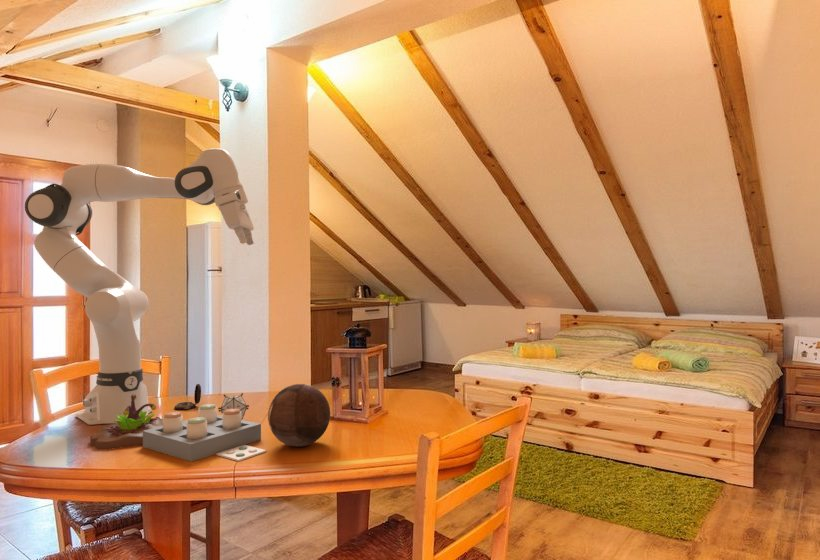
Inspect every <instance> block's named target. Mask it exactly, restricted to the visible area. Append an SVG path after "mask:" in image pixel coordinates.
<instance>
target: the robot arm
mask: <svg viewBox="0 0 820 560" xmlns="http://www.w3.org/2000/svg"><path fill="white" fill-rule="evenodd" d="M61 181H62V182H61V184H58V183H51V184H48V185H46V186H45V187H43V188H40V189H37V190H35V191H33V192H32V193H30V194H29V195H28V196H27V198H26V200H25V202H24V211H25V213H26V215H27V217H28V218H29V219H30V220H31V221H32V222H34V223H36V224H38V225H40V226H42V227H43V228H42V231H40V232H39V233H38V234H37V236H35V239H34V242H33V246H34V248H35V250H36V251H37V253H38V254H39V256H40V257H41V258H42V260H43V261H44V263H46V264H47V266H48V267H49V268H50V269H51V270H52V271H53V272H54V273H55V274H57V276H58V277H59V278H61V279H62V281H63V282H64V283H66V284H67V285H68V286H69V287H70V288H71V289H72V290H73V291H74V292H76V293H79V294H81V295H82V296H84V297H86V298H87V299H86V302H85V305H84V309H85V310H84V311H85V315H86V316H87V318H88V319H89V320H90V322H91V323H92V326H93V330H94V332H95V336H96V340H97V347H98V365H99V369H98V370H99V371H98V372H96V382H95V383H96V385H95V386H94V387H93V388H92V390H91V391H90V392H89V393H88V394H86V396H85V398H84V399H83V400H82V407H83V408H84V410H81V411H78V412H76V414H75V417H76V418H78V419H79V420H81V421H82V422H84V423H85V424H87V425H88V426H91V425H101V424H103V425H104V424H106V425H108V424H114V423H117V422H116V421H114V420H117V421H120V420H119V419H118V418H117V414H118V415H123V416H125V415H124V414H123V412H124V410H125V409H126V408H127V407H128V406H131V401H132V400H131V395H132V394H135V395H136V396H137V398H136V399H135V401H134V402H135V408H136V411H137V410H138V409H139V408H140V407H142V406H143V405H145V404H149V398H148V396H149V395H148V389H147V385H146V384H144V383H143V381H144V372H143V371H144V370H143V368H142V350H141V349H142V348H141V347H142V346H141V344H142V343H141V341H140V340H139V338H138V337H137V334H136V329H135V325H134V322H135V321H137V320H140V319H142V317H143V316H145V314H146V313H147V312H148V310H149V307H150V300H149V297H148V296H147V294H146V293H145V292H144V291H143V290H141V289H139V288H137V287H136V286H135V285H134V284H132V283H131V282H129V281H128V280H127V279H125V278H124V277H123V276H121V275H120V274H118V273H117V272H116V271H115V270H112V269H111V268H110V267H108V266H107V265H106V264H105V263H104V262H103V261H102V260H101V259H100V258H98V256H97V255H96V254H95V253H94V252H93V251H91V250H90V249H89V247H87V246H86V245H85V244H84V243H83V242H82V241H81V240H80V239H79V238H78V236H79V235H81V234H82V233H83V231H84V229H85V228H86V226H88V224H89V223H90V222H91V219H92V217H93V209H92V206H91V204H89V203H93V202H104V203H107V202H111V203H113V202H126V201H135V200H142V199H154V198H156V199H157V198H158V199H159V198H160V199H183V200H190V201H192V202H194V203H195V204H199V205H201V206H209V205H212V204H215V206H216V207H217V208H218V210H219V211H220V214H221V216H222V218H223V220H224V221H225V224H226V225H227V228H228V229H230V230H233V231H234V232H235V233H234V234H236V236H237V238H238V240H239V244H242V245H244V244H246V245H248V246H252V245H254V240H253V234H252V231H253V230H254V224H253V222H252V220H251V217H250V215H249V212H248V210H247V208H246V204H248V203H249V200H248V197H247V195H246V191H245V189H244V187H243V184H242V183H241V182H240V179H239V172H238V169H237V167H236V165H235V162H234V159H233V158H232V156H231V154H230V153H229V151H227V150H225V149H223V148H217V147H213V148H207V149H205V150H203V151H201V152H200V155H199V156H198V158H197V159H195V160H194V161H193V162H192V163H191V164H189V165H188V166H187V167H185V168H182V169H181V170H180V171H178V172H177V173H176V176H175V177H159V176H154V175H150V174H146V173H143V172H141V171H138V170H136V169H133V168H130V167H127V166H124V165H118V164H112V163H90V164H89V163H88V164H82V165H81V164H80V165H75V166H70V167H69V168H67V169H66V170H64V173H63V175H62V179H61ZM141 411H143V412H147V414H146V415H148V416H149V414H150V413H152V412H153V410H152V409H151V407H150V406H146V407H144V408H143V409H142V410H141ZM126 416H127V415H126Z"/></svg>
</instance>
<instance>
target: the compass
mask: <svg viewBox="0 0 820 560" xmlns="http://www.w3.org/2000/svg"><path fill="white" fill-rule="evenodd" d="M201 386H202V385H201V384H200V383H196V384H195V388H194V396H193V397H194V402H192V401H182V402H179V403H177V404H176V405H175V406H174V407H173V409H175V410H176V409H177V410H176V411H187V410H192V409H194V408H195V407H196V405H198V404H199V403H200V401H201V397H202V387H201ZM186 409H187V410H186Z"/></svg>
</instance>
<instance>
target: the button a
mask: <svg viewBox="0 0 820 560" xmlns="http://www.w3.org/2000/svg"><path fill="white" fill-rule="evenodd" d="M162 419H163V432H164V433H167V434H170V433H174V432H178V431H182V430H183V421H184V417H183V414H182V412H181V411H171V412H166V413H164V414H163V416H162Z"/></svg>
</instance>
